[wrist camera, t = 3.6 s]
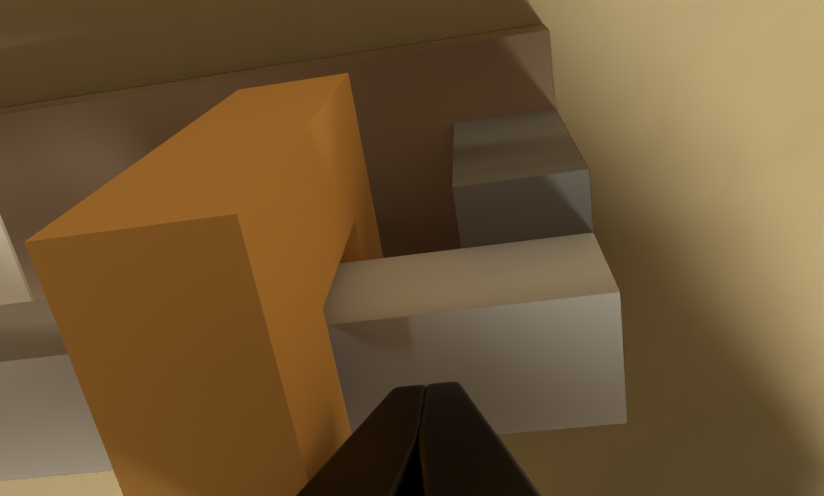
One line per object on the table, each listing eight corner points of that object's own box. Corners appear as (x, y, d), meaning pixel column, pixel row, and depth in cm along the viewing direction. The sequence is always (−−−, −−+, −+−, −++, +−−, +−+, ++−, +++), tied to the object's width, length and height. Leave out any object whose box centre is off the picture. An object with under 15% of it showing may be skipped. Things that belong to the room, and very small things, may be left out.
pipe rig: (569, 328, 17) (636, 565, 11) (-153, 406, 20) (-458, 642, 13) (543, 23, 15) (610, 96, 8) (-290, 153, 17) (-760, 292, 10)
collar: (411, 405, 15) (377, 741, 9) (319, 414, 16) (222, 748, 9) (348, 73, 13) (237, 213, 6) (238, 89, 13) (24, 242, 7)
